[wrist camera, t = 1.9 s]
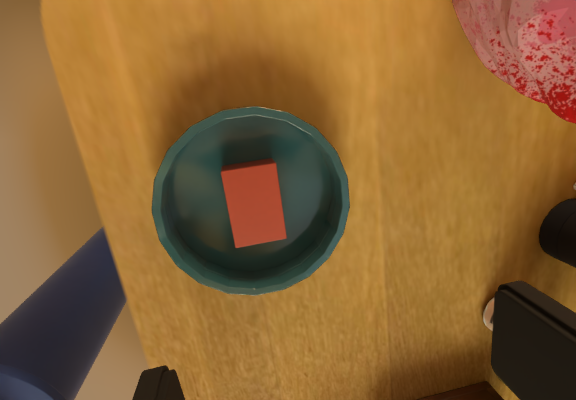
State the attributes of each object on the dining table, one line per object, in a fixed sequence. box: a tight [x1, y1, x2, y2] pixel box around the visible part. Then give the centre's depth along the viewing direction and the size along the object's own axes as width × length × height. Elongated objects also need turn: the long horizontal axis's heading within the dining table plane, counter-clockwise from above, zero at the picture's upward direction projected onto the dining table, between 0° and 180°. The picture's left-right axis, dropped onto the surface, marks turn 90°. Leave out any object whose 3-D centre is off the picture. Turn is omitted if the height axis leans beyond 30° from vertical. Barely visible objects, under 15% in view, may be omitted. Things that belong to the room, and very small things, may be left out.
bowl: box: [152, 106, 350, 295], centre depth 25 cm, size 14×14×4 cm
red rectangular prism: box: [221, 158, 287, 248], centre depth 25 cm, size 6×4×2 cm, turn 7°
